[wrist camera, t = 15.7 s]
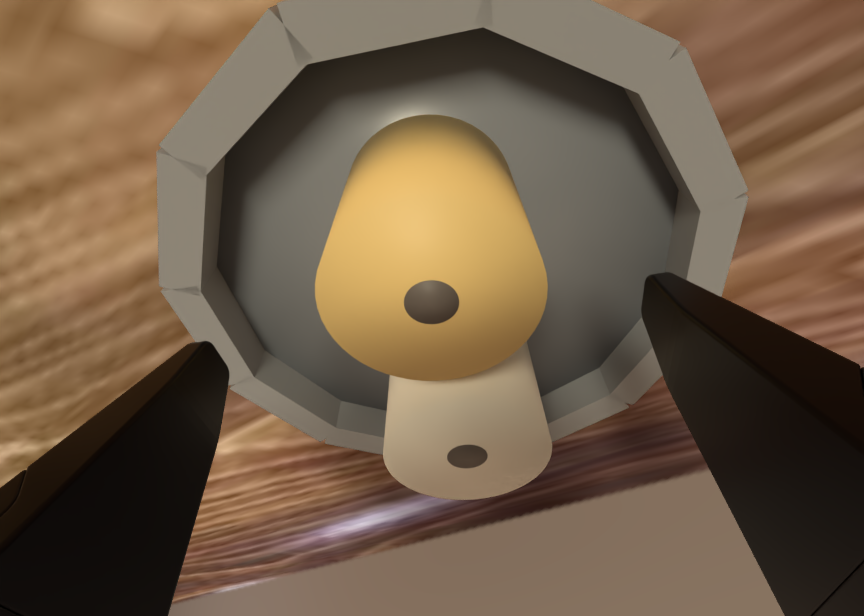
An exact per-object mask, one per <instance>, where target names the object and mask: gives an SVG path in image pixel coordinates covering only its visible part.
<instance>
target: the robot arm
mask: <svg viewBox="0 0 864 616" xmlns="http://www.w3.org/2000/svg"><path fill="white" fill-rule="evenodd" d="M641 314H642V319H643V322H644V325H645V327H646V330H647V333H648V336H649V338H650V341H651V344H652V347H653V349H654V352H655V355H656V358H657V360H658V363H659V366H660V369H661V371H662V374H663V377H664V379H665V382H666V384H667V387H668V389H669V391H670V393H671V395H672V397H673V399H674V401H675V403H676V405H677V407H678V409H679V411H680V413H681V414H682V416H683V418H684V420H685V422H686V424H687V426H688V428H689V430H690V432H691V434H692V436H693V438H694V440H695V442H696V444H697V446H698V448H699V450H700V451H701V453H702V455H703V457H704V459H705V461H706V463H707V465H708V467H709V469H710V471H711V473H712V475H713V477H714V478H715V481H716V483H717V485H718V486H719V488H720V490H721V492H722V494H723V496H724V498H725V500H726V502H727V504H728V506H729V508H730V510H731V512H732V514H733V515H734V518H735V520H736V521H737V524H738V525H739V528H740V529H741V531H742V533H743V535H744V537H745V539H746V541H747V543H748V545H749V547H750V549H751V551H752V553H753V555H754V557H755V559H756V561H757V562H758V565H759V566H760V568H761V570H762V572H763V574H764V576H765V578H766V580H767V582H768V584H769V586H770V588H771V590H772V592H773V594H774V596H775V597H776V600H777V602H778V603H779V605H780V607H781V609H782V611H783V613H784V615H785V616H864V367H862V368H860V365H859V364H857V363H855V362H853V361H851V360H849V359H847V358H845V357H843V356H841V355H839V354H837V353H835V352H833V351H831V350H829V349H826V348H824V347H822V346H820V345H818V344H816V343H814V342H812V341H810V340H808V339H806V338H804V337H802V336H800V335H798V334H796V333H794V332H792V331H790V330H788V329H786V328H784V327H782V326H780V325H777V324H775V323H773V322H771V321H769V320H767V319H765V318H763V317H761V316H759V315H757V314H755V313H753V312H751V311H749V310H747V309H745V308H743V307H741V306H739V305H737V304H735V303H733V302H731V301H728V300H726V299H724V298H722V297H720V296H718V295H716V294H714V293H712V292H710V291H708V290H706V289H704V288H702V287H700V286H698V285H696V284H694V283H692V282H690V281H688V280H686V279H684V278H681V277H679V276H677V275H675V274H673V273H671V272H664V273H657V274H651V275H649V276H647V277H646V279H645V283H644V291H643V298H642V305H641ZM228 383H229V369H228V366H227V365H226V363H225V362H224V360H223V359H222V357H221V356H220V354H219V353H218V351H217V350H216V348H215V347H214V345H213V344H212V343H211V342H209V341H200V342H194V343H190V344H187V345H186V346H185V347H183V348H182V349H181V350H179V351H178V352H177V353H176V354H174V355H173V356H172V357H170V358H169V359H168V360H166V361H165V362H164V363H163V364H161V365H160V366H159V367H157V368H156V369H155V370H153V371H152V372H151V373H150V374H148V375H147V376H146V377H144V378H143V379H142V380H140V381H139V382H138V383H137V384H135V385H134V386H133V387H131V388H130V389H129V390H127V391H126V392H125V393H123V394H122V395H121V396H120V397H118V398H117V399H116V400H114V401H113V402H112V403H110V404H109V405H108V406H107V407H105V408H104V409H103V410H101V411H100V412H99V413H97V414H96V415H95V416H94V417H92V418H91V419H90V420H88V421H87V422H86V423H84V424H83V425H82V426H80V427H79V428H78V429H77V430H75V431H74V432H73V433H71V434H70V435H69V436H67V437H66V438H65V439H64V440H62V441H61V442H60V443H58V444H57V445H56V446H54V447H53V448H52V449H51V450H49V451H48V452H47V453H45V454H44V455H43V456H41V457H40V458H39V459H38V460H36V461H35V462H34V463H32V464H31V465H30V466H28V468H27V470H23V471H22V472H20V473H19V474H18V475H16V476H15V477H14V478H13V479H11V480H10V481H9V482H7V483H6V484H5V485H4V486H2V487H1V488H0V616H168V614H169V610H170V607H171V603H172V600H173V596H174V593H175V590H176V586H177V583H178V579H179V576H180V572H181V569H182V565H183V562H184V558H185V555H186V551H187V548H188V545H189V541H190V538H191V534H192V531H193V527H194V524H195V520H196V517H197V513H198V510H199V506H200V503H201V500H202V496H203V493H204V489H205V486H206V482H207V479H208V475H209V472H210V468H211V465H212V461H213V458H214V455H215V451H216V447H217V443H218V439H219V434H220V430H221V424H222V418H223V412H224V406H225V401H226V395H227V389H228Z"/></svg>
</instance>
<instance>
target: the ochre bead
mask: <svg viewBox="0 0 864 616" xmlns="http://www.w3.org/2000/svg"><path fill="white" fill-rule="evenodd" d="M547 291H548V283H547V274H546V270H545V267H544V263H543V260H542V257H541V254H540V252H539V249H538V246H537V243H536V241H535V238H534V235H533V232H532V229H531V227H530V224H529V221H528V218H527V216H526V213H525V210H524V207H523V205H522V202H521V199H520V196H519V194H518V191H517V188H516V185H515V183H514V180H513V177H512V174H511V172H510V169H509V166H508V164H507V162H506V160H505V157H504V156H503V154H502V152H501V151H500V149H499V148H498V146H497V145H496V144H495V143H494V142H493V141H492V140H491V139H490V138H489V137H488V136H487V135H486V134H485V133H483V132H482V131H481V130H479V129H478V128H476V127H475V126H473V125H471V124H469V123H467V122H465V121H462V120H460V119H456V118H453V117H450V116H443V115H430V114H425V115H417V116H411V117H407V118H404V119H400V120H398V121H396V122H393V123H391V124H389V125H387V126H386V127H384V128H382V129H381V130H379V131H378V132H377V133H376V134H374V135H373V136H372V137H371V138H370V139H369V140H368V141H367V142H366V143H365V144H364V145H363V147H362V148H361V150H360V151H359V153H358V154H357V156H356V158H355V160H354V162H353V164H352V167H351V170H350V173H349V176H348V179H347V182H346V185H345V188H344V191H343V194H342V197H341V200H340V203H339V206H338V209H337V212H336V215H335V218H334V221H333V224H332V227H331V230H330V233H329V236H328V239H327V242H326V245H325V248H324V251H323V254H322V257H321V260H320V263H319V266H318V269H317V273H316V280H315V298H316V304H317V309H318V311H319V314H320V317H321V320H322V322H323V323H324V325H325V327H326V329H327V331H328V332H329V333H330V335H331V336H332V338H333V339H334V340H335V341H336V342H337V343H338V344H339V345H340V347H341V348H342V349H344V350H345V351H346V352H347V353H348V354H350V355H351V356H352V357H354V358H355V359H357V360H358V361H360V362H361V363H363V364H365V365H367V366H369V367H371V368H373V369H375V370H377V371H380V372H383V373H385V374H388V375H392V376H396V377H400V378H405V379H410V380H421V381H440V380H451V379H456V378H462V377H466V376H469V375H473V374H476V373H479V372H481V371H484V370H487V369H489V368H491V367H493V366H495V365H497V364H499V363H500V362H502V361H503V360H505V359H507V358H508V357H509V356H511V355H512V354H513V353H514V352H516V351H517V350H518V349H519V348H520V347H521V346H522V345H523V344H524V343H525V342H526V341H527V340H528V339H529V337H530V336H531V335H532V333H533V332H534V331H535V329H536V327H537V325H538V324H539V322H540V320H541V317H542V315H543V312H544V310H545V305H546V301H547Z"/></svg>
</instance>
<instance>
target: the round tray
mask: <svg viewBox="0 0 864 616" xmlns="http://www.w3.org/2000/svg"><path fill="white" fill-rule="evenodd" d="M679 43H680V42H679V41H677V40H675V39H673V38H671V37H669V36H667V35H664V34H662V33H660V32H658V31H656V30H654V29H652V28H650V27H647V26H645V25H643V24H641V23H639V22H637V21H635V20H632V19H630V18H628V17H626V16H624V15H622V14H620V13H617V12H615V11H613V10H611V9H609V8H607V7H605V6H602V5H600V4H598V3H596V2H594V1H592V0H283V1H281V2H278V3H277V5H275V6H273V7H270V8H268V10H267V11H266V12H265V13H264V15H263V16H262V17H261V18H260V20H259V21H258V22H257V23H256V25H255V26H254V27H253V28H252V30H251V31H250V32H249V33H248V35H247V36H246V37H245V38H244V40H243V41H242V42H241V43H240V45H239V46H238V47H237V48H236V50H235V51H234V52H233V53H232V55H231V56H230V57H229V58H228V60H227V61H226V62H225V63H224V64H223V66H222V67H221V68H220V69H219V71H218V72H217V73H216V74H215V76H214V77H213V78H212V79H211V81H210V82H209V83H208V84H207V86H206V87H205V88H204V89H203V91H202V92H201V93H200V94H199V96H198V97H197V98H196V99H195V101H194V102H193V103H192V104H191V106H190V107H189V108H188V109H187V111H186V112H185V113H184V114H183V116H182V117H181V118H180V119H179V121H178V122H177V123H176V124H175V126H174V127H173V128H172V129H171V130H170V132H169V133H168V134H167V135H166V137H165V138H164V139H163V140H162V142H161V143H160V144H159V146H160V147H161V149H160V150H158V151H157V202H158V254H159V286H160V287H164V288H163V290H162V291H161V292H162V294H163V295H164V297H165V298H166V299H167V301H168V302H169V304H170V305H171V307H172V308H173V310H174V311H175V312H176V314H177V315H178V317H179V318H180V320H181V321H182V323H183V324H184V325H185V327H186V328H187V330H188V331H189V333H190V334H191V336H192V337H193V338H194V340H195V341H196V342H200V341H209V342H211V343H212V344H213V345H214V347H215V348H216V350H217V351H218V353H219V354H220V356H221V357H222V359H223V360H224V362H225V363H226V365H227V366H228V369H229V383H228V385H231V387H230V389H231V390H233V391H234V392H236V393H238V394H240V395H241V396H243V397H245V398H246V399H248V400H250V401H251V402H253V403H255V404H257V405H258V406H260V407H262V408H263V409H265V410H267V411H268V412H270V413H272V414H274V415H275V416H277V417H279V418H280V419H282V420H284V421H286V422H287V423H289V424H291V425H292V426H294V427H296V428H297V429H299V430H301V431H303V432H304V433H306V434H308V435H309V436H311V437H313V438H314V439H316V440H318V441H320V442H321V441H323V440H325V439H326V440H325V444H330V445H335V446H340V447H345V448H350V449H355V450H360V451H366V452H371V453H376V454H381V455H383V447H384V436H385V424H386V412H387V401H388V389H389V377H390V375H388V374H385V373H383V372H380V371H377V370H375V369H373V368H371V367H369V366H367V365H365V364H363V363H361V362H360V361H358V360H357V359H355V358H354V357H352V356H351V355H350V354H348V353H347V352H346V351H345V350H344V349H342V348H341V347H340V345H339V344H338V343H337V342H336V341H335V340H334V339H333V338H332V336H331V335H330V333H329V332H328V331H327V329H326V327H325V325H324V323H323V322H322V320H321V317H320V314H319V311H318V309H317V304H316V298H315V280H316V273H317V269H318V266H319V263H320V260H321V257H322V254H323V251H324V248H325V245H326V242H327V239H328V236H329V233H330V230H331V227H332V224H333V221H334V218H335V215H336V212H337V209H338V206H339V203H340V200H341V197H342V194H343V191H344V188H345V185H346V182H347V179H348V176H349V173H350V170H351V167H352V164H353V162H354V160H355V158H356V156H357V154H358V153H359V151H360V150H361V148H362V147H363V145H364V144H365V143H366V142H367V141H368V140H369V139H370V138H371V137H372V136H373V135H374V134H376V133H377V132H378V131H379V130H381V129H382V128H384V127H386V126H387V125H389V124H391V123H393V122H396V121H398V120H400V119H404V118H407V117H411V116H417V115H425V114H430V115H443V116H450V117H453V118H456V119H460V120H462V121H465V122H467V123H469V124H471V125H473V126H475V127H476V128H478V129H479V130H481V131H482V132H483V133H485V134H486V135H487V136H488V137H489V138H490V139H491V140H492V141H493V142H494V143H495V144H496V145H497V146H498V148H499V149H500V151H501V152H502V154H503V156H504V157H505V160H506V162H507V164H508V166H509V169H510V172H511V174H512V177H513V180H514V183H515V185H516V188H517V191H518V194H519V196H520V199H521V202H522V205H523V207H524V210H525V213H526V216H527V218H528V221H529V224H530V227H531V229H532V232H533V235H534V238H535V241H536V243H537V246H538V249H539V252H540V254H541V257H542V260H543V263H544V267H545V270H546V274H547V283H548V291H547V301H546V305H545V310H544V312H543V315H542V317H541V320H540V322H539V324H538V325H537V327H536V329H535V331H534V332H533V333H532V335H531V336H530V337H529V339H528V340H527V345H528V349H529V353H530V357H531V361H532V365H533V369H534V373H535V377H536V381H537V385H538V389H539V393H540V397H541V401H542V405H543V409H544V413H545V417H546V421H547V425H548V429H549V433H550V437H551V441H552V442H554V441H556V440H558V439H560V438H563V437H565V436H567V435H569V434H572V433H574V432H576V431H578V430H580V429H583V428H585V427H587V426H589V425H592V424H594V423H596V422H598V421H601V420H603V419H605V418H607V417H609V416H612V415H614V414H616V413H618V412H621V411H623V410H625V409H627V408H629V406H628V404H632V405H634V404H635V403H636V402H637V401H638V400H639V398H640V397H641V396H642V395H643V394H644V393H645V392H646V391H647V390H648V389H649V388H650V387H651V386H652V385H653V384H654V383H655V382H656V381H657V380H658V379H659V378H660V377H661V376H662V375H663V374H662V371H661V369H660V366H659V363H658V360H657V358H656V355H655V352H654V349H653V347H652V344H651V341H650V338H649V336H648V333H647V330H646V327H645V325H644V322H643V319H642V314H641V305H642V298H643V291H644V283H645V279H646V277H647V276H649V275H651V274H657V273H664V272H671V273H673V274H675V275H677V276H679V277H681V278H684V279H686V280H688V281H690V282H692V283H694V284H696V285H698V286H700V287H702V288H704V289H706V290H708V291H710V292H712V293H714V294H716V295H718V296H720V297H721V296H722V292H723V289H724V285H725V281H726V278H727V274H728V270H729V267H730V263H731V259H732V256H733V252H734V249H735V245H736V241H737V238H738V234H739V230H740V227H741V223H742V219H743V216H744V212H745V208H746V205H747V201H748V196H747V195H746V194H744V193H745V192H747V191H748V189H747V186H746V184H745V182H744V179H743V177H742V175H741V173H740V170H739V168H738V166H737V163H736V161H735V159H734V156H733V154H732V152H731V150H730V147H729V145H728V143H727V140H726V138H725V136H724V134H723V131H722V129H721V127H720V124H719V122H718V120H717V118H716V115H715V113H714V111H713V108H712V106H711V104H710V102H709V99H708V97H707V95H706V92H705V90H704V88H703V85H702V83H701V81H700V79H699V76H698V74H697V72H696V69H695V67H694V65H693V63H692V60H691V58H690V56H689V53H688V51H687V49H686V48H685V47H683V46H680V45H679ZM627 403H628V404H627Z"/></svg>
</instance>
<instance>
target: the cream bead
mask: <svg viewBox="0 0 864 616" xmlns="http://www.w3.org/2000/svg"><path fill="white" fill-rule="evenodd" d="M551 454H552V441H551V437H550V433H549V429H548V425H547V421H546V417H545V413H544V409H543V405H542V401H541V397H540V393H539V389H538V385H537V381H536V377H535V373H534V369H533V365H532V361H531V357H530V353H529V349H528V345H527V341H526V342H525V343H524V344H523V345H522V346H521V347H520V348H519V349H518V350H517V351H516V352H514V353H513V354H512V355H511V356H509V357H508V358H507V359H505V360H503V361H502V362H500V363H499V364H497V365H495V366H493V367H491V368H489V369H487V370H484V371H481V372H479V373H476V374H473V375H469V376H466V377H462V378H456V379H451V380H440V381H421V380H410V379H405V378H400V377H396V376H392V375H390V377H389V389H388V401H387V412H386V424H385V436H384V447H383V459H384V463H385V466H386V467H387V469H388V471H389V472H390V474H391V475H392V476H393V477H394V478H395V479H396V480H397V481H398V482H400V483H401V484H403V485H404V486H406V487H408V488H410V489H412V490H414V491H416V492H419V493H421V494H425V495H428V496H432V497H437V498H443V499H452V500H473V499H482V498H489V497H494V496H498V495H501V494H505V493H508V492H511V491H513V490H516V489H518V488H520V487H522V486H524V485H525V484H527V483H529V482H530V481H532V480H533V479H534V478H536V477H537V476H538V475H539V474H540V473H541V472H542V471H543V470H544V468H545V467H546V466H547V464H548V462H549V460H550V458H551Z"/></svg>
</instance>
